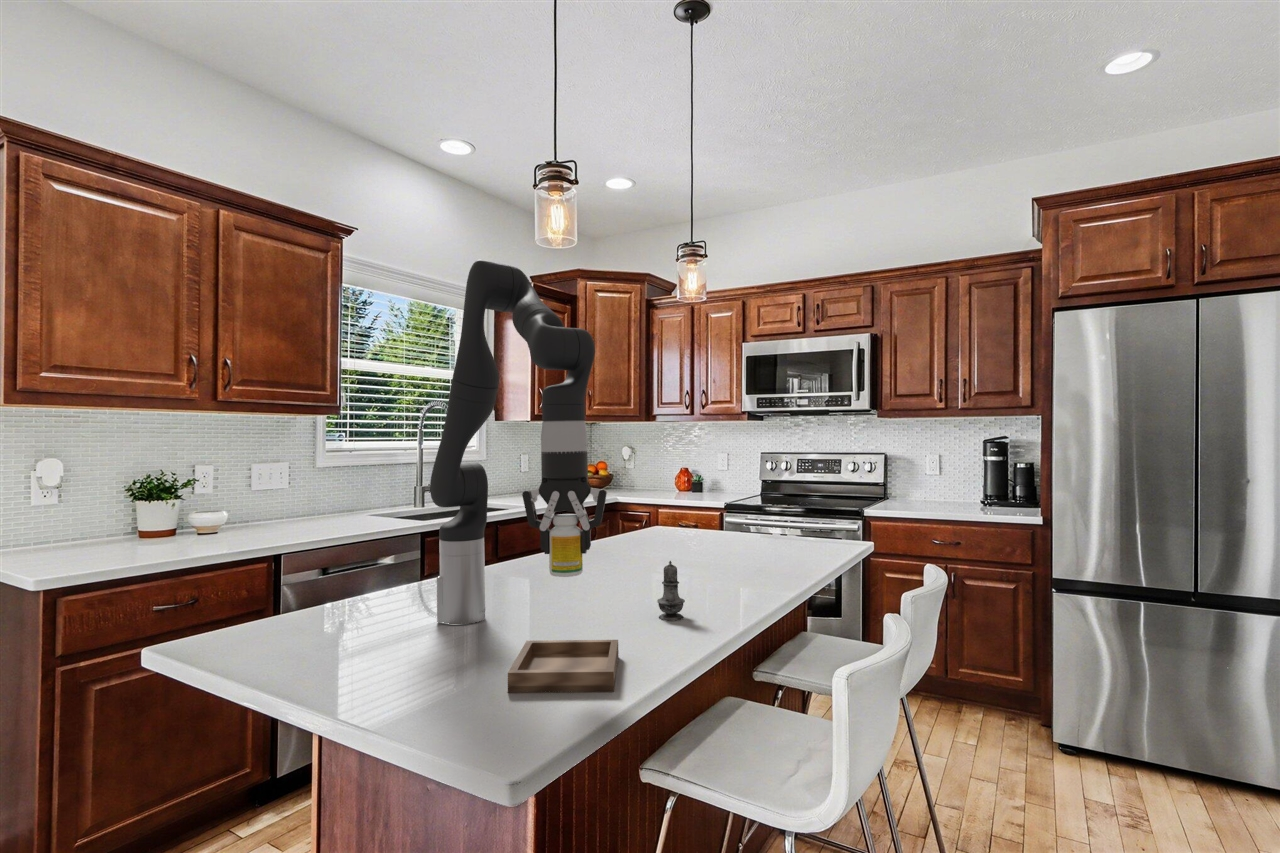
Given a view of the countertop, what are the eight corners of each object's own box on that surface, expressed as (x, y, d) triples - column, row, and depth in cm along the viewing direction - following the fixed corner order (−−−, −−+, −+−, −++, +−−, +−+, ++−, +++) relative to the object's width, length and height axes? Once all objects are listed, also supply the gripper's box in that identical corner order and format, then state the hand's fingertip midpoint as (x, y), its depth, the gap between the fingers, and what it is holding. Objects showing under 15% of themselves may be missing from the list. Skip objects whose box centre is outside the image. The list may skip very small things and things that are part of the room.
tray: (507, 692, 103) (507, 672, 103) (526, 657, 119) (526, 640, 119) (613, 691, 103) (613, 671, 103) (618, 656, 119) (618, 639, 119)
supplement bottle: (545, 573, 112) (544, 514, 112) (575, 569, 115) (574, 512, 115) (556, 578, 107) (555, 517, 107) (587, 575, 110) (586, 515, 110)
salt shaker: (685, 621, 140) (684, 563, 141) (657, 621, 141) (656, 563, 141) (684, 613, 146) (683, 557, 146) (657, 614, 146) (656, 558, 147)
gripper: (516, 450, 108) (517, 558, 107) (606, 448, 107) (608, 556, 107) (524, 449, 115) (526, 550, 115) (609, 448, 115) (611, 548, 115)
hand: (566, 552), depth 111 cm, fingers closed on supplement bottle, 5 cm apart
